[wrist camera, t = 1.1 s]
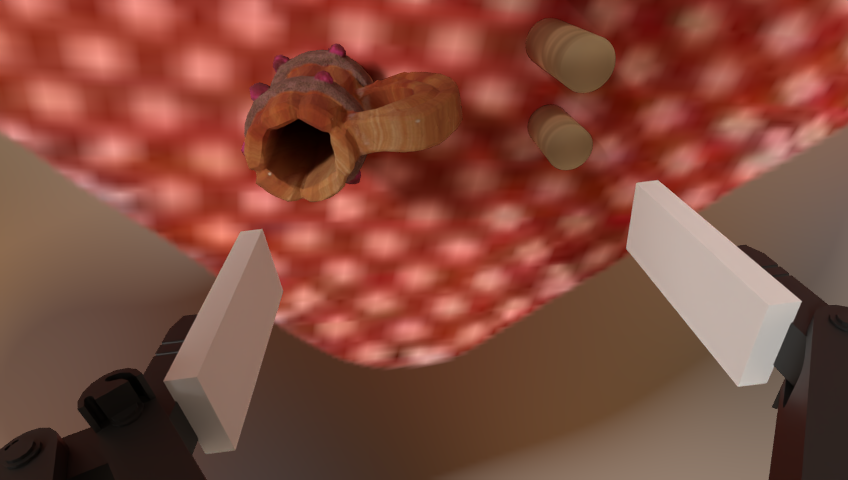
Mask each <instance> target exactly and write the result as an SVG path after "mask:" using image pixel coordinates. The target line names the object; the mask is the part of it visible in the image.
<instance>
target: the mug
mask: <svg viewBox="0 0 848 480" xmlns="http://www.w3.org/2000/svg"><path fill="white" fill-rule="evenodd" d="M273 67H274V69H275V71H276V75H275V76H274V78H273V80H272V83H271V86H268V85H266V84H263V83H256V84H254V85H253V86H251V87H250V94H251V99H252V100H253V101H254V102H253V105H252V107H251V109H250V111H249V113H248V115H247V119H246V122H245V133H244V134H245V142H244V143H243V146H242V149H241V151H242V153H243V154H244V156H245V158H246V161H247V164H248V167H249V169H251V170H255V171H256V174H257V178H256V184H258V185H259V186H260V187H262V188H263V189H264V190H266V191H267V192H268V193H270V194H272V195H274V196H276V197H278V198H281V199H283V200H286V201H296V200H299V199H301V198H304V199H306V200H308V201H310V202H317V201H321V200H325V199H328V198H330V197H332V196H334V195H335V194H337V193H338V192H339V191H340V190H341V189H342V188H343V187H344V186H345V183H348V184H357V183H359V182H360V177H361V172H360V168H361V167H362V165H363V163H364V161H365V158H366V156H367V154H370V153H374V152H382V151H390V152H412V151H420V150H425V149H428V148H431V147H433V146H436V145H438V144H440V143H441V142H443V141H444V140H445V139H446V138H448V137H449V136H450V135H451V134H452V133H453V132H454V131H455V130H456V129H457V128H458V126H459V125H460V123H461V121H462V106H461V100H460V95H459V90H458V86H457V84H456V83H455V82H454V81H453V80H452V79H451V78H449V77H447V76H445V75H442V74H437V73H428V72H410V73H407V72H403V73H400V74H397V75H394V76H391V77H389V78H386V79H383V80H377V81H375V82H374V83H373V80H372V78H371V77H370V75H369V74H368V73H367V72H366V71H365V70H364V69H363V67H362V66H361V65H360V64H358V63H357V62H355V61H354V60H353V59H351V58H350V57H348V56H346V51H345V50H344V48H343V47H342V46H341V45H340V44H334V45H332V46H331V47H330V48H329V50H316V51H308V52H305V53H303V54H300V55H298V56H296V57H295V58H292V59H289V58H288V57H285V56H283V55H278V56H276V57H275V59H274V62H273Z"/></svg>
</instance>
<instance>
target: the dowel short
mask: <svg viewBox="0 0 848 480" xmlns="http://www.w3.org/2000/svg"><path fill="white" fill-rule="evenodd" d="M528 133H529V135H530V137H531V138H532V140H533V141H534V142H535V144H536V145H537V146H538V147H539V149H540V150H541V151H542V153H543V154H544V155H545V156H546V158H547V159H548V160H549V162H550V163H551V164H552V165H553V166H554V167H555V168H557V169H560V170H571V169H575V168H577V167H579V166H580V165H582V164H583V163H584V162H585V161H586V160H587V159H588V157H589V156H590V154H591V151H592V147H593V142H592V138H591V136H590V134H589V133H588V132H587V131H586V130H585V129H584V128H583V127H582V126H581V125H580V124H578V123H577V122H576V121H575V120H574V119H573V118H572V117H571V116H570V115H568V114H567V113H566V112H565V111H564V110H563V109H562V108H560V107H559V106H556V105H545V106H542V107H540V108H539V109H537V110H536V111H535V112H534V113H533V114H532V115H531V117H530V119H529V122H528Z"/></svg>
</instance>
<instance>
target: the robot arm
mask: <svg viewBox="0 0 848 480" xmlns="http://www.w3.org/2000/svg"><path fill="white" fill-rule="evenodd" d="M626 249H627V250H628V251H629V253H630V254H631V255H632V256H633V258H634V259H635V260H636V261H637V263H638V264H639V265H640V266H641V268H642V269H643V270H644V271H645V272H646V274H647V275H648V276H649V277H650V278H651V280H652V281H653V282H654V283H655V285H656V286H657V287H658V289H659V290H660V291H661V292H662V294H663V295H664V296H665V297H666V299H667V300H668V301H669V302H670V303H671V305H672V306H673V307H674V308H675V309H676V311H677V312H678V313H679V315H680V316H681V317H682V318H683V319H684V321H685V322H686V323H687V324H688V326H689V327H690V328H691V329H692V330H693V332H694V333H695V334H696V335H697V337H698V338H699V339H700V341H701V342H702V343H703V344H704V345H705V347H706V348H707V349H708V350H709V352H710V353H711V354H712V355H713V357H714V358H715V359H716V360H717V362H718V363H719V364H720V365H721V366H722V368H723V369H724V370H725V372H726V373H727V374H728V375H729V376H730V378H731V379H732V380H733V381H734V383H735V384H736V385H737V386H738V387H741V386H748V385H756V384H764V383H767V382H768V380H769V377H770V375H771V373H772V370H773V368H774V366H775V367H776V368H777V370H778V371H779V372H780V373H781V374H782V375H783V376H784V377H785V380H784V382H783V384H782V386H781V388H780V391H779V393H778V395H777V397H776V399H775V402H774V404H773V406H772V407H773V408H775V409H778V413H777V420H776V429H775V436H774V444H773V451H772V459H771V466H770V474H769V480H848V307H845V306H839V305H828V304H827V303H825V302H824V301H823V300H822V299H820V298H819V297H818V296H817V295H815V294H814V293H813V292H812V291H810V290H809V289H808V288H806V287H805V286H804V285H803V284H802V283H800V282H799V281H798V280H796V279H795V278H794V277H793V276H789V273H788V272H787V271H785V270H784V269H783V268H781V267H778V264H777V263H775V262H774V261H773V260H772V259H770V258H769V257H767V255H765V254H764V253H762V252H760V251H757V250H755V249H753V248H751V247H748V246H747V245H740V246H736V245H734V244H733V243H732V242H731V241H730V240H728V239H727V238H726V237H725V236H724V235H723V234H721V233H720V232H719V231H718V230H717V229H715V228H714V227H713V226H712V225H711V224H710V223H708V222H707V221H706V220H704V218H702V217H701V216H700V215H699V214H698V213H696V212H695V211H694V210H693V209H692V208H690V207H689V206H688V205H687V204H686V203H685V202H683V201H682V200H681V199H680V198H679V197H677V196H676V195H675V194H674V193H673V192H671V191H670V190H669V189H668V188H667V187H666V186H664V185H663V184H662V183H661V182H660V181H658V180H655V181H647V182H639V183H636V188H635V194H634V201H633V207H632V213H631V220H630V226H629V233H628V239H627V246H626ZM282 294H283V289H282V286H281V283H280V280H279V277H278V274H277V271H276V268H275V265H274V262H273V259H272V256H271V253H270V250H269V247H268V244H267V241H266V238H265V235H264V232H263V229H259V230H251V231H243V232H240V234H239V236H238V238H237V240H236V241H235V243H234V245H233V247H232V249H231V251H230V253H229V255H228V257H227V259H226V261H225V263H224V265H223V267H222V269H221V270H220V272H219V274H218V276H217V278H216V280H215V282H214V284H213V286H212V288H211V290H210V292H209V294H208V296H207V298H206V300H205V302H204V303H203V305H202V307H201V309H200V311H199V313H198V314H196V315H187V316H183V317H182V318H181V319H180V320H179V321H178V322H177V323H175V324H174V325H173V326H172V327H171V328H170V329H169V331H168V333H167V334H166V336H165V338H164V340H163V341H162V345H160V347H159V348H158V350H157V352H156V356H154V357H153V359H152V361H151V362H150V364H149V366H148V368H147V369H146V371H145V373H144V375H143V374H142V373H141V372H139V371H138V370H137V369H131V368H125V369H120V370H116V371H113V372H111V373H108V374H106V375H104V376H102V377H101V378H99V379H98V380H96V381H95V382H93V383H92V384H91V385H90V386H89V387H88V388H87V389H86V390H85V391H84V392H83V393H82V395H81V397H80V398H79V400H78V410H79V412H80V413H81V414H82V416H83V417H84V418H85V420H86V421H87V422H88V423H89V425H90V426H91V427H90V428H88V429H85V430H82V431H80V432H77V433H74V434H72V435H69V436H66V437H63V438H61V437H60V436H59V434H58V433H57V432H56V431H54V430H53V429H51V428H38V429H35V430H31V431H28V432H26V433H24V434H22V435H20V436H18V437H17V438H15V439H13V440H12V441H10V442H9V443H8V444H6V445H5V446H4V447H3V448H1V449H0V480H207V479H206V477H205V476H204V474H203V473H202V471H201V469H200V468H199V466H198V465H197V463H196V461H195V460H194V458H193V456H192V454H193V452H194V449H195V446H196V444H197V441H198V442H199V443H200V444H201V447H202V448H203V450H204V452H205V454H210V453H218V452H225V451H234V450H235V449H236V446H237V443H238V440H239V436H240V433H241V430H242V426H243V423H244V420H245V416H246V413H247V410H248V406H249V403H250V399H251V396H252V393H253V390H254V386H255V383H256V380H257V377H258V373H259V370H260V367H261V363H262V360H263V356H264V353H265V350H266V347H267V343H268V340H269V336H270V333H271V330H272V327H273V323H274V320H275V317H276V313H277V310H278V307H279V303H280V300H281V297H282Z"/></svg>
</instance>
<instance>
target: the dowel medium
mask: <svg viewBox="0 0 848 480" xmlns="http://www.w3.org/2000/svg"><path fill="white" fill-rule="evenodd" d="M526 51H527V54H528V56H529V58H530V59H531V60H532V61H533V62H535V63H536V64H537V65H539V66H540V67H541V68H543V69H544V70H545V71H547V72H548V73H549V74H551V75H552V76H553V77H555V78H556V79H557V80H559V81H560V82H561V83H563V84H564V85H565V86H566V87H568V88H569V89H571V90H572V91H574V92H578V93H588V92H592V91H594V90H596V89H598V88H600V87H601V86H602V85H603V84H604V83H605V82H606V81H607V80H608V79H609V77H610V76H611V74H612V72H613V69H614V66H615V60H616V57H615V51H614V48H613V46H612V45H611V43H610V42H609V41H608V40H607V39H605V38H603V37H601V36H598V35H596V34H593V33H591V32H588V31H586V30H583V29H581V28H579V27H576V26H574V25H571V24H569V23H566V22H564V21H561V20H559V19H556V18H546V19H543V20H541V21H539V22H537V23H536V24H535V25H534V26H533V27H532V28H531V30H530V31H529V33H528V35H527V39H526Z"/></svg>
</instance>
